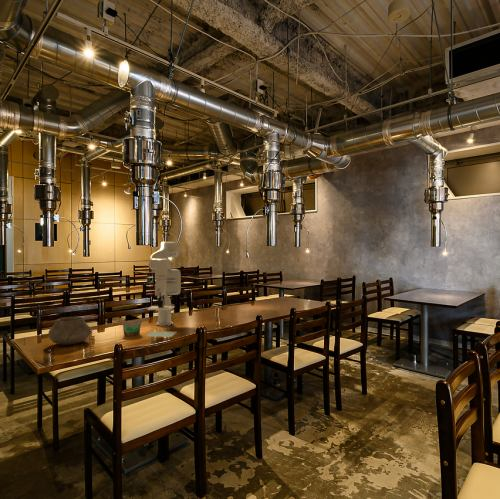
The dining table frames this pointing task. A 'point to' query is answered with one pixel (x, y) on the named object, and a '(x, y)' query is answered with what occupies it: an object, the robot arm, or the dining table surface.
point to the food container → (131, 328)
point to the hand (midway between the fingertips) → (161, 305)
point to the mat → (161, 334)
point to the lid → (161, 307)
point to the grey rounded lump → (69, 331)
